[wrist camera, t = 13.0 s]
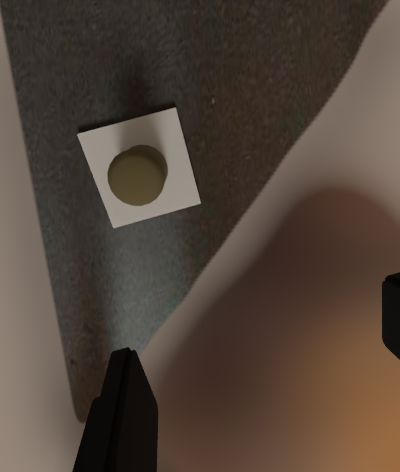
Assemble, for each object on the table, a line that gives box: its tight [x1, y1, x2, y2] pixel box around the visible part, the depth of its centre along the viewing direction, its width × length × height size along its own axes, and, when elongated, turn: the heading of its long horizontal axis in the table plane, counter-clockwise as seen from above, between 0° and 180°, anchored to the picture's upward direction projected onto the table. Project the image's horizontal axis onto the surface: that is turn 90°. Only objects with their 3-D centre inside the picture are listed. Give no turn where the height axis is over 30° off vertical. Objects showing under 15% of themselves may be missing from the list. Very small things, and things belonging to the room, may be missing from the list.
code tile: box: [77, 107, 201, 228], centre depth 35 cm, size 12×12×1 cm
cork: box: [107, 145, 168, 206], centre depth 29 cm, size 6×6×11 cm
